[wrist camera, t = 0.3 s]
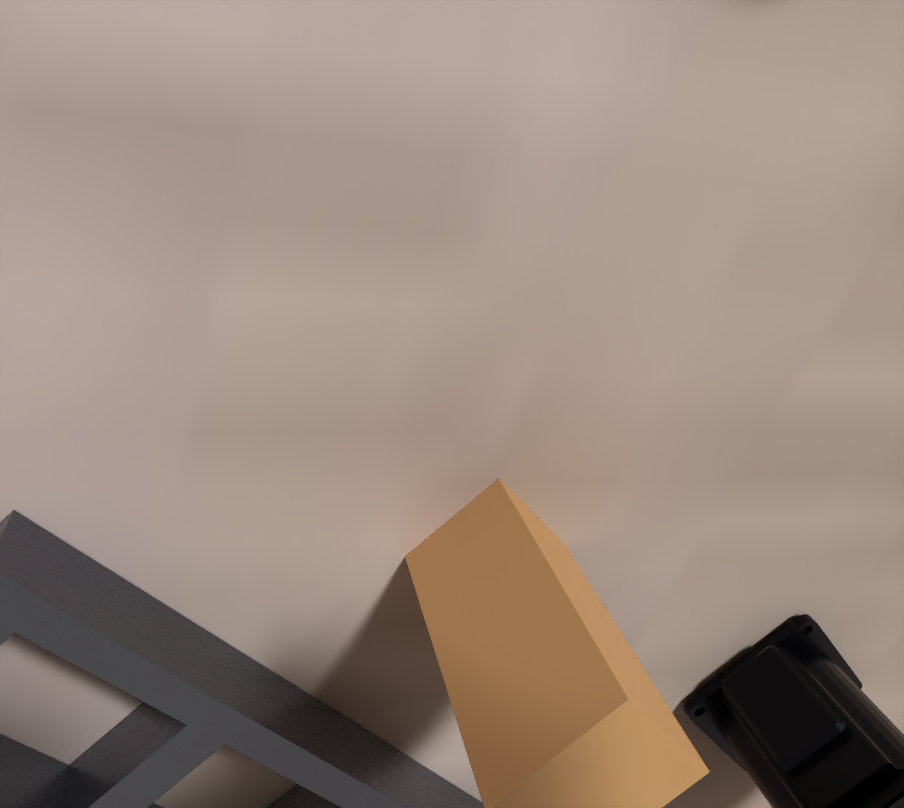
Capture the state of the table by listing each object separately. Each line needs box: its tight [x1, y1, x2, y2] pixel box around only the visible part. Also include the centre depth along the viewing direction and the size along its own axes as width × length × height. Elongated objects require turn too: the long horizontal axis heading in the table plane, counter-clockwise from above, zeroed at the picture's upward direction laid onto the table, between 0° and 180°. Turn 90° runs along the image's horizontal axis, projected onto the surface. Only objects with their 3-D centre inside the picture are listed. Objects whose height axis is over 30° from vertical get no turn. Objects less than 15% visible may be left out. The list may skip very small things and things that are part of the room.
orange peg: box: [405, 479, 710, 808], centre depth 21 cm, size 4×4×9 cm
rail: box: [0, 510, 484, 808], centre depth 25 cm, size 23×8×2 cm, turn 39°
